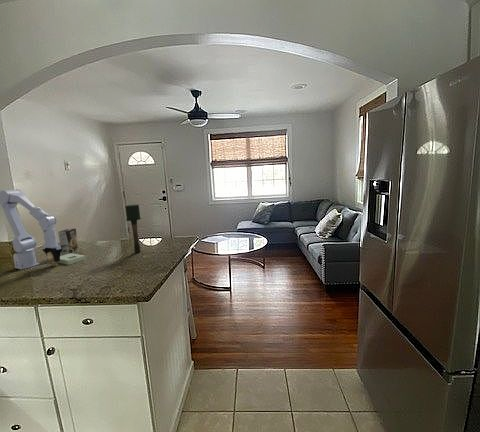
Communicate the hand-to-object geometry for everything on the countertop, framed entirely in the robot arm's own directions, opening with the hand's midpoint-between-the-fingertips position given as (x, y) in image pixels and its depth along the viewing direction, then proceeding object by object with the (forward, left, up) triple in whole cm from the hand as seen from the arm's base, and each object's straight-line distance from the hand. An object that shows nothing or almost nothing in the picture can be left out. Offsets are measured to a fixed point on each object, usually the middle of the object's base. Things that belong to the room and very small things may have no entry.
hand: (54, 260), depth 158 cm
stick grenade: (+36, -26, -3) cm, 45 cm away
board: (+9, +1, -3) cm, 10 cm away
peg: (0, 0, -3) cm, 3 cm away
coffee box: (+18, +16, -3) cm, 24 cm away
